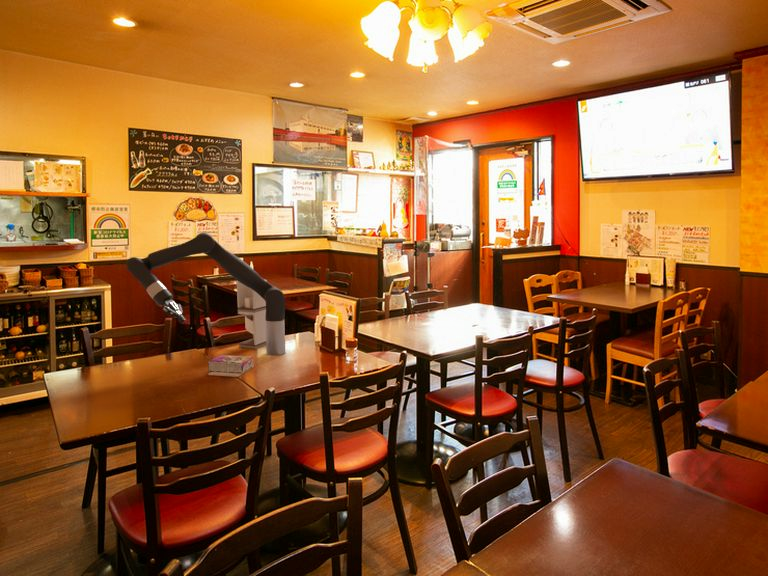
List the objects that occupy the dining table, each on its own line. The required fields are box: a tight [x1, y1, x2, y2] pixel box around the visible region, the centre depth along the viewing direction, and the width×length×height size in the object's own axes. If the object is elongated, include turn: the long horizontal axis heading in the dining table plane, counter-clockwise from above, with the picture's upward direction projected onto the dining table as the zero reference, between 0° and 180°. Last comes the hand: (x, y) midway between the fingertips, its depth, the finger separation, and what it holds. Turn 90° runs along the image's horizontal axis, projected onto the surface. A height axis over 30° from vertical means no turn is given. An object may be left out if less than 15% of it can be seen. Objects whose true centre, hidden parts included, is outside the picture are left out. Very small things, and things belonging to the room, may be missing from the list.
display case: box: [236, 279, 268, 350], centre depth 282 cm, size 11×11×35 cm
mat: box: [208, 364, 255, 378], centre depth 239 cm, size 16×14×1 cm
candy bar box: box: [208, 354, 254, 374], centre depth 239 cm, size 11×5×16 cm
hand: (184, 322), depth 241 cm, fingers closed
